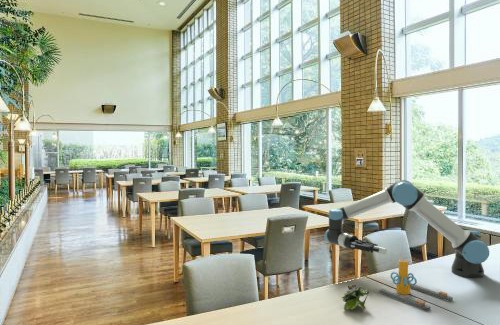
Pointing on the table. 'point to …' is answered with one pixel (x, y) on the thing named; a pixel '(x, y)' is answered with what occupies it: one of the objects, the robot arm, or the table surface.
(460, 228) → the robot arm
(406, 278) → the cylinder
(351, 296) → the passion flower
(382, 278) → the table surface
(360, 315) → the table surface
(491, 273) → the table surface
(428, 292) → the guide track
